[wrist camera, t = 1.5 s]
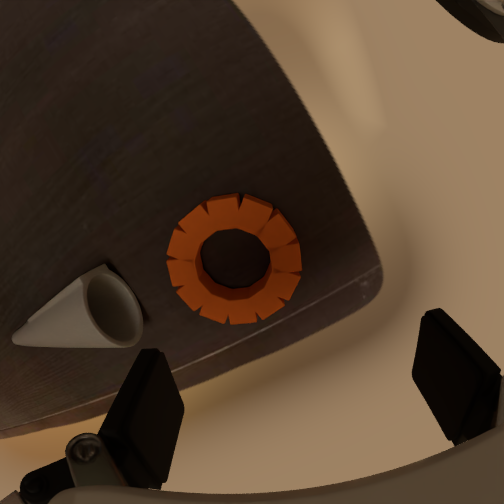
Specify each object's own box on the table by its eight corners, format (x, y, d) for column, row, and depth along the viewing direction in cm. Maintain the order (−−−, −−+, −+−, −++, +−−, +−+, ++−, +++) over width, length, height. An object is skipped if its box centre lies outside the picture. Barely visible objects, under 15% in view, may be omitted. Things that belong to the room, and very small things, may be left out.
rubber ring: (189, 315, 23) (184, 329, 22) (163, 205, 21) (154, 210, 19) (302, 303, 23) (305, 316, 21) (290, 185, 20) (293, 188, 18)
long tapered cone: (26, 392, 23) (118, 362, 18) (-5, 345, 22) (67, 281, 17) (54, 368, 29) (154, 324, 23) (26, 324, 28) (113, 258, 22)
